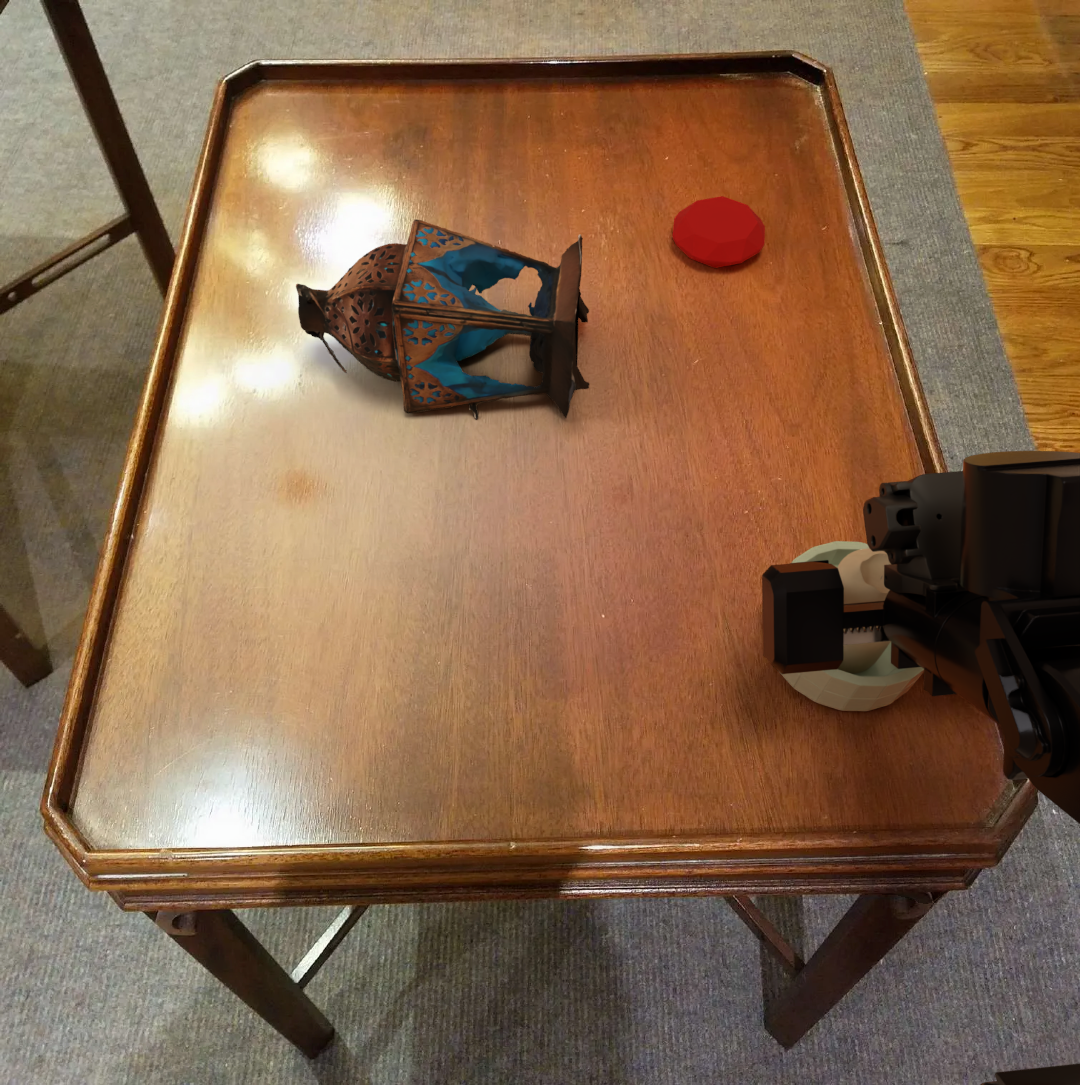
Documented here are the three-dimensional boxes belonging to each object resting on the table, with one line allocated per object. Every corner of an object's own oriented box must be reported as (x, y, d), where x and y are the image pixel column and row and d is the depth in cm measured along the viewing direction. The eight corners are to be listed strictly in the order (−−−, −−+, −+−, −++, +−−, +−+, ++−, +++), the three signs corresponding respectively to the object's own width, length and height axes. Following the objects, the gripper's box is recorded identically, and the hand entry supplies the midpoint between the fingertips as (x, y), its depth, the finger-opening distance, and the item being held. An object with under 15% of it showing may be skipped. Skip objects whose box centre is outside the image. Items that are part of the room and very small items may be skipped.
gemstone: (713, 287, 88) (718, 263, 86) (653, 238, 92) (656, 213, 90) (780, 249, 91) (786, 224, 89) (718, 203, 95) (723, 178, 92)
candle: (871, 686, 66) (919, 622, 57) (796, 658, 67) (832, 591, 58) (887, 623, 68) (936, 553, 60) (815, 597, 69) (852, 525, 61)
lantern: (580, 411, 88) (321, 394, 88) (594, 234, 84) (320, 215, 83) (588, 442, 73) (273, 422, 72) (606, 227, 68) (269, 204, 68)
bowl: (932, 715, 65) (959, 687, 61) (771, 711, 65) (786, 683, 61) (903, 577, 71) (925, 542, 67) (755, 573, 71) (769, 539, 67)
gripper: (1176, 479, 46) (1003, 444, 61) (810, 508, 45) (727, 465, 60) (1158, 688, 48) (996, 604, 63) (810, 719, 47) (731, 626, 63)
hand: (865, 572), depth 62 cm, fingers open, 9 cm apart
